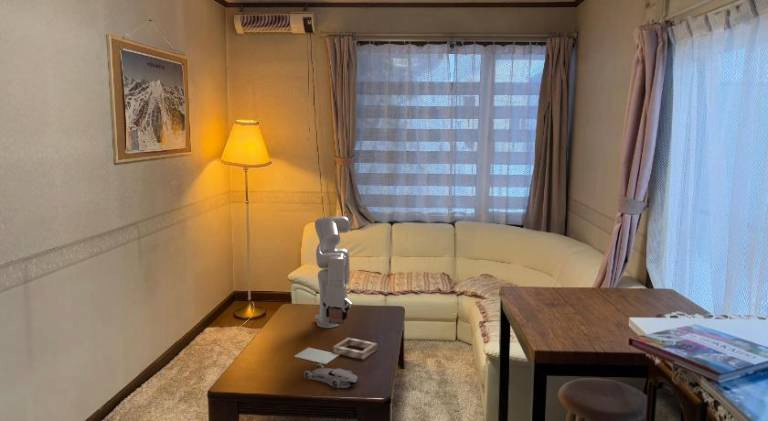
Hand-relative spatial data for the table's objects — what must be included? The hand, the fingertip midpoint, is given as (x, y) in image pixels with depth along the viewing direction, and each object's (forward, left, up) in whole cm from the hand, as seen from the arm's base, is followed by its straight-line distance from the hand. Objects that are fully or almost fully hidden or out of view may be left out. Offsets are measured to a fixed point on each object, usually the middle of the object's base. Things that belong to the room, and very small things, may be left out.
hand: (336, 317), depth 255 cm
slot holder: (+7, +7, -18) cm, 20 cm away
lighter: (0, 0, -3) cm, 3 cm away
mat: (-6, -7, -18) cm, 20 cm away
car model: (+13, -24, -18) cm, 33 cm away
